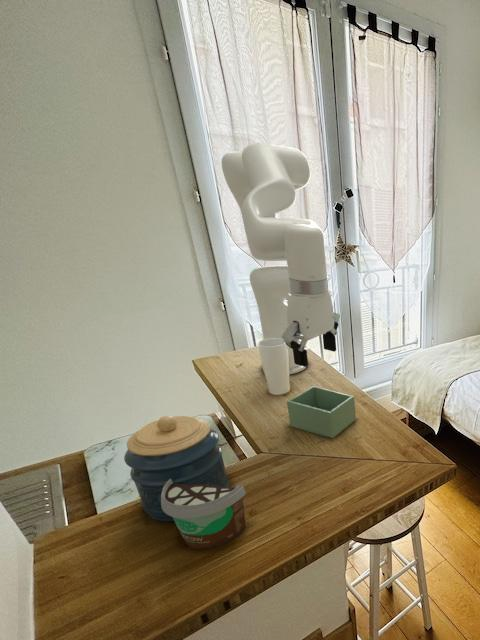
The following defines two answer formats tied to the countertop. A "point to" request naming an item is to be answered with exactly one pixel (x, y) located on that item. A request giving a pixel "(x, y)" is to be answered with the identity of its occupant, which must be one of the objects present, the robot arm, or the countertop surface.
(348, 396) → the bin
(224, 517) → the food container
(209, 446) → the canister
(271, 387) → the drinking glass
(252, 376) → the countertop surface
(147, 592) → the countertop surface
